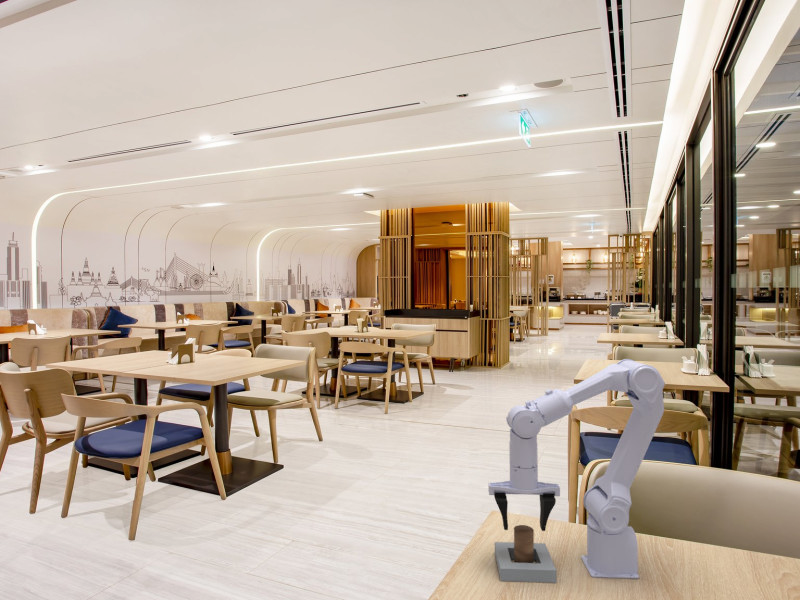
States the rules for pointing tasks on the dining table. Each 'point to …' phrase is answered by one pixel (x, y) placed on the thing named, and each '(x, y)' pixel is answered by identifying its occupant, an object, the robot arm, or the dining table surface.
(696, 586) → the dining table surface
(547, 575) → the socket block
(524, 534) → the plug
